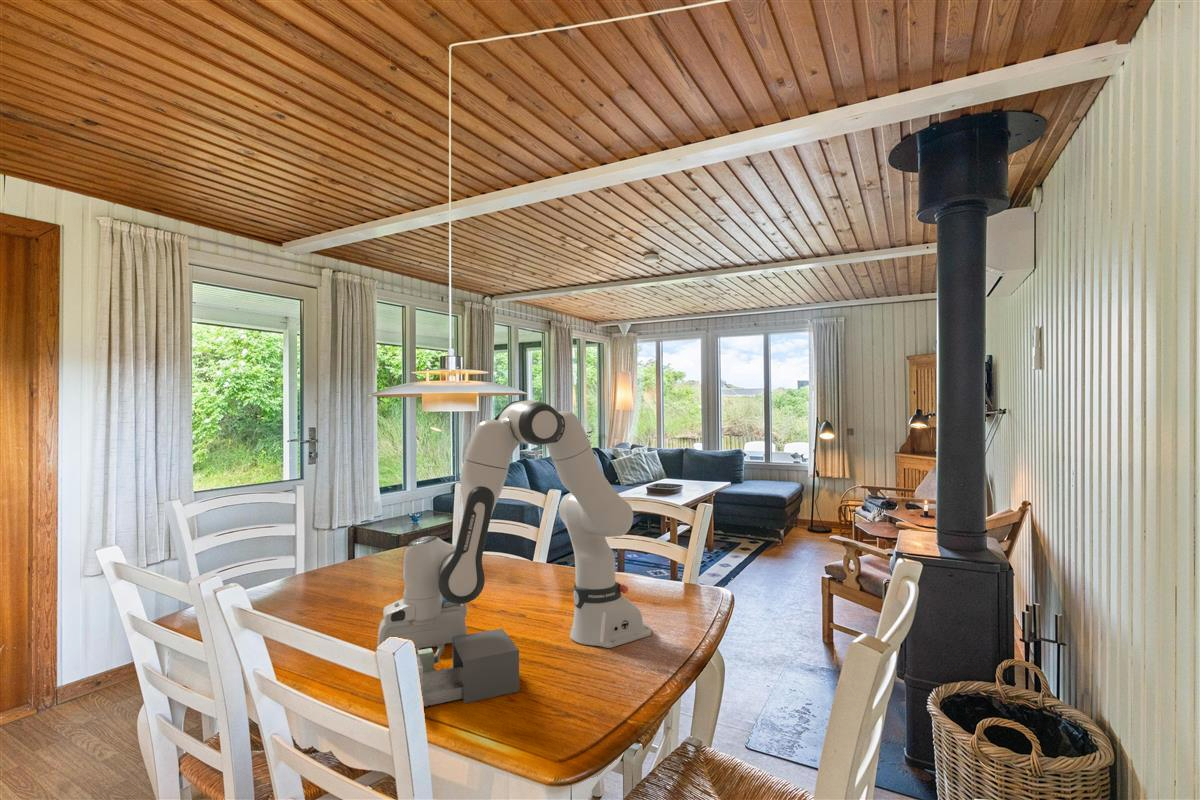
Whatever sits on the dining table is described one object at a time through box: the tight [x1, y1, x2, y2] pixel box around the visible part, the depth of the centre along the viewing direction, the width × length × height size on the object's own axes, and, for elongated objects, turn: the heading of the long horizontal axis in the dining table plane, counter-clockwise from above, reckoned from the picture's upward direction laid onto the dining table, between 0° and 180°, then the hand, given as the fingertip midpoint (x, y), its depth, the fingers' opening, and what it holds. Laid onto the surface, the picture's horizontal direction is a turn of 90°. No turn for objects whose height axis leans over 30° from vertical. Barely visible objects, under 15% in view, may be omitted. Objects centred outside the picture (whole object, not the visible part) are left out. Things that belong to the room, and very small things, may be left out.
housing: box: [451, 628, 520, 704], centre depth 128 cm, size 12×14×9 cm
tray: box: [415, 646, 463, 708], centre depth 124 cm, size 12×12×8 cm
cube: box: [417, 647, 435, 673], centre depth 134 cm, size 4×4×4 cm
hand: (423, 664), depth 134 cm, fingers closed on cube, 4 cm apart
